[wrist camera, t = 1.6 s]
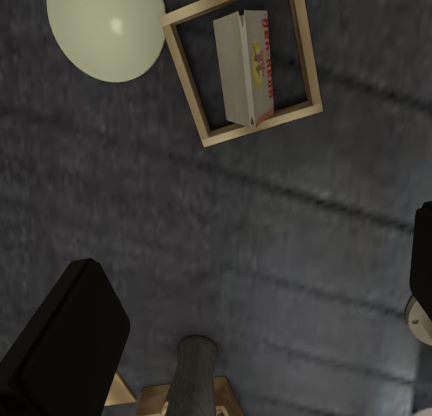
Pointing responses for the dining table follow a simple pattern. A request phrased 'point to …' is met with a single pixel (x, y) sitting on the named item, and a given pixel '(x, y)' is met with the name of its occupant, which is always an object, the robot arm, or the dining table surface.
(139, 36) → the coaster
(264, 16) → the gable top carton
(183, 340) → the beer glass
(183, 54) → the holder
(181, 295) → the dining table surface
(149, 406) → the display tray
